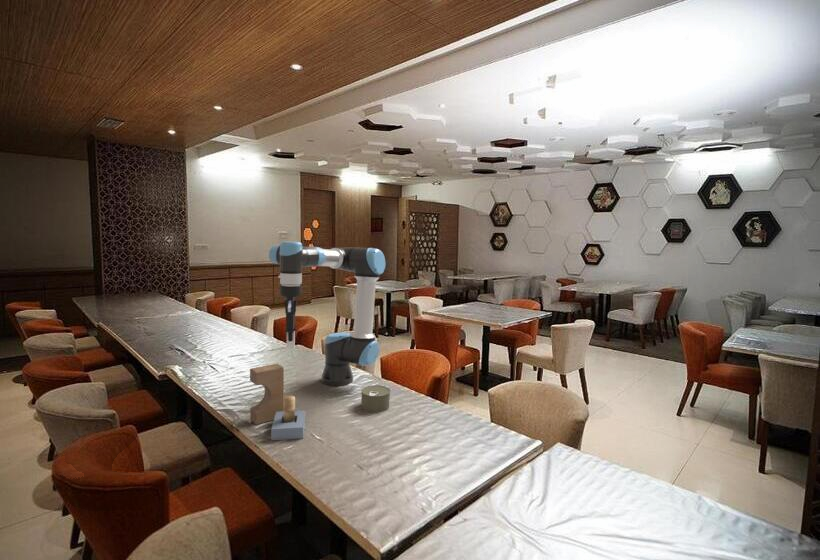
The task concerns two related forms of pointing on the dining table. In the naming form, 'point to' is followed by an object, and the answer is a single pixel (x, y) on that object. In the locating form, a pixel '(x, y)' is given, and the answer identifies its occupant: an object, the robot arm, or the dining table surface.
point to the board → (288, 427)
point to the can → (375, 398)
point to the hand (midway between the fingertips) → (290, 349)
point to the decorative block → (268, 392)
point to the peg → (288, 409)
